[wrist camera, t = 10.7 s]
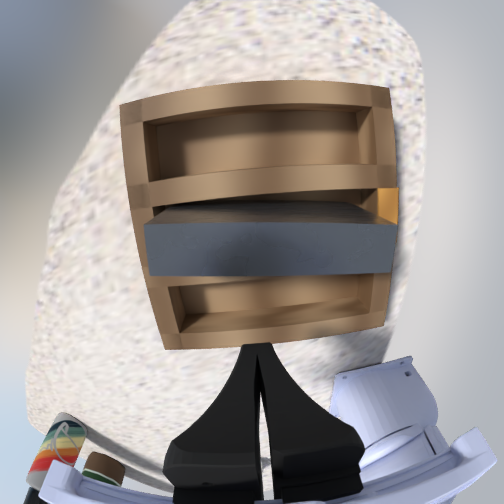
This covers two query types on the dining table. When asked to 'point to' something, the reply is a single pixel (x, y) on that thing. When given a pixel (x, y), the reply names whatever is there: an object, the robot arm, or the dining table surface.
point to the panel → (268, 239)
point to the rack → (261, 198)
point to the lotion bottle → (55, 452)
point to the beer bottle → (104, 469)
